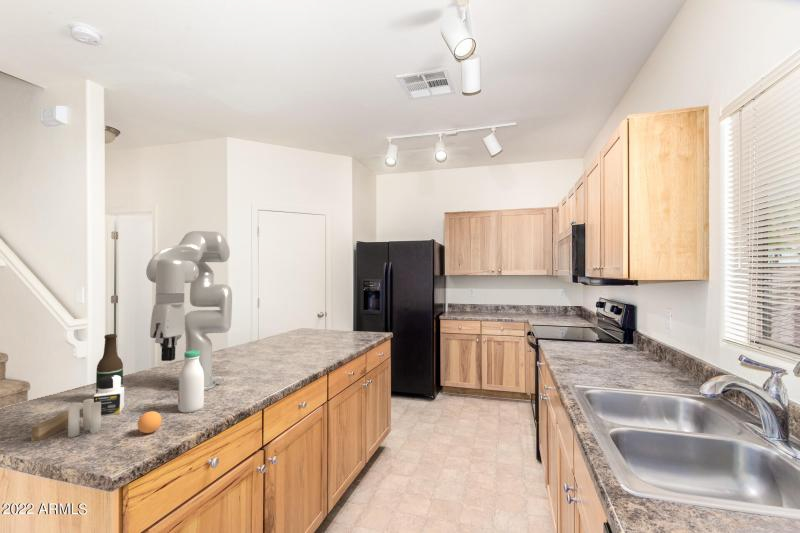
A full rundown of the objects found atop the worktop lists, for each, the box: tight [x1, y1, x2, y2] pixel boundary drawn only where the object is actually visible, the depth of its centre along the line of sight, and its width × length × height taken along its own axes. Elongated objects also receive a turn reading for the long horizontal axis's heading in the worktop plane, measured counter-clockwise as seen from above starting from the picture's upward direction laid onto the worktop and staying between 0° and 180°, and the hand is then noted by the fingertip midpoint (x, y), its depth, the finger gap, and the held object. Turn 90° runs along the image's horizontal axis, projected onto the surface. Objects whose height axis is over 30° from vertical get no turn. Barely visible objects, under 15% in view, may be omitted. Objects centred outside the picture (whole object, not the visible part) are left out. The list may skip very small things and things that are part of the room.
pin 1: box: [67, 404, 81, 438], centre depth 107 cm, size 2×2×8 cm
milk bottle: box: [177, 350, 205, 413], centre depth 128 cm, size 8×8×20 cm
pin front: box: [89, 402, 102, 435], centre depth 110 cm, size 2×2×8 cm
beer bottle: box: [95, 333, 124, 394], centre depth 137 cm, size 8×8×24 cm
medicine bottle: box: [93, 375, 125, 417], centre depth 125 cm, size 7×7×12 cm
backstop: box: [31, 410, 69, 442], centre depth 109 cm, size 2×12×4 cm, turn 1°
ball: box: [136, 410, 163, 434], centre depth 110 cm, size 6×6×6 cm
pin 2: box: [82, 398, 94, 431], centre depth 112 cm, size 2×2×8 cm
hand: (168, 360), depth 111 cm, fingers closed
